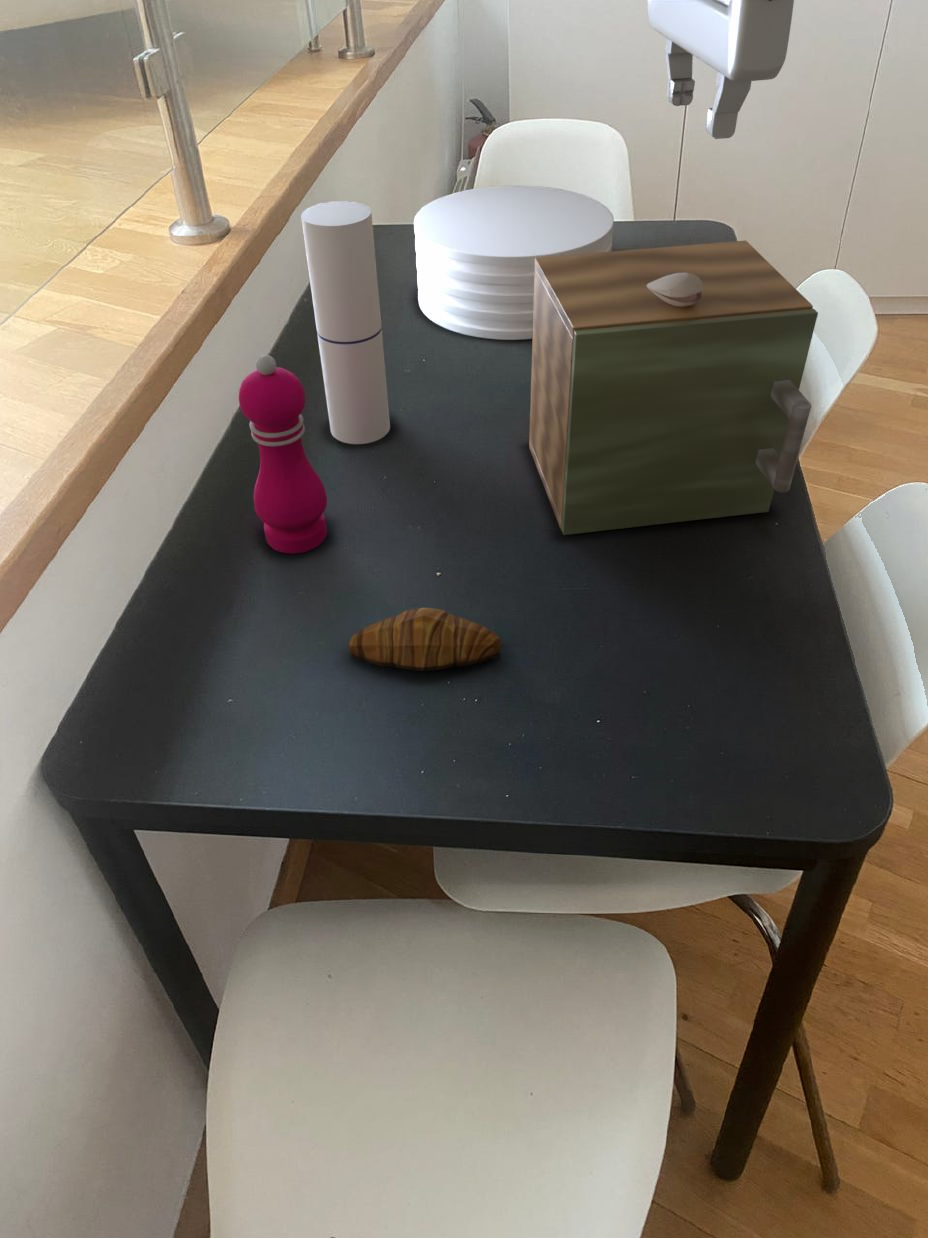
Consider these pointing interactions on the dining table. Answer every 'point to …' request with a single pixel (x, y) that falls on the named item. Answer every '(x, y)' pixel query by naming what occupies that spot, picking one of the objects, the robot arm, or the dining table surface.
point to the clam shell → (678, 289)
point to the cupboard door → (684, 419)
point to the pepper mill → (283, 460)
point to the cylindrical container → (348, 318)
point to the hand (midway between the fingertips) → (697, 118)
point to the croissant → (425, 641)
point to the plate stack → (499, 253)
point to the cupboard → (628, 319)
